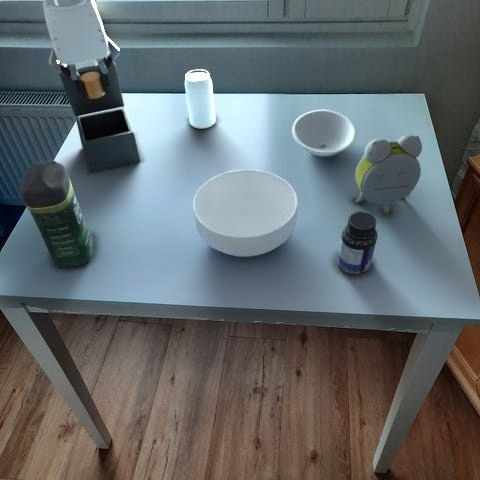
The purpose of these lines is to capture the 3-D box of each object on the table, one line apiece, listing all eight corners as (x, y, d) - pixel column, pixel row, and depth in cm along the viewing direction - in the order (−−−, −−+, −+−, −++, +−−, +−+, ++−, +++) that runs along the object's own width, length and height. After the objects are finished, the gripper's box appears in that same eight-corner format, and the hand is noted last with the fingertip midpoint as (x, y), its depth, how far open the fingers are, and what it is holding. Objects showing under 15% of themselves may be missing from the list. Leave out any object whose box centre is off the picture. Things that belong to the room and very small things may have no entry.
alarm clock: (402, 192, 100) (421, 126, 88) (414, 213, 96) (435, 147, 84) (349, 199, 99) (360, 134, 87) (359, 220, 95) (372, 155, 83)
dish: (358, 171, 105) (361, 151, 101) (293, 173, 105) (294, 153, 101) (348, 127, 115) (350, 108, 111) (289, 129, 116) (290, 110, 112)
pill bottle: (358, 249, 90) (369, 204, 82) (376, 271, 87) (388, 225, 78) (330, 259, 89) (337, 214, 80) (346, 281, 86) (356, 236, 77)
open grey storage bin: (141, 162, 111) (133, 132, 104) (92, 174, 109) (81, 143, 102) (132, 137, 117) (124, 106, 111) (85, 147, 115) (75, 117, 109)
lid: (115, 65, 99) (109, 45, 100) (59, 75, 97) (54, 55, 98) (124, 106, 111) (119, 88, 112) (75, 116, 109) (70, 98, 110)
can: (215, 115, 122) (210, 67, 112) (215, 129, 118) (211, 81, 108) (190, 117, 122) (183, 69, 112) (190, 131, 118) (183, 83, 108)
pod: (87, 100, 97) (81, 82, 94) (84, 91, 99) (79, 74, 97) (106, 96, 98) (101, 78, 95) (103, 87, 100) (98, 70, 97)
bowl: (221, 194, 102) (218, 161, 95) (308, 215, 97) (311, 180, 90) (180, 255, 91) (174, 222, 85) (275, 282, 86) (276, 249, 80)
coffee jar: (94, 267, 91) (60, 187, 76) (52, 272, 90) (10, 193, 75) (96, 233, 96) (65, 153, 82) (57, 238, 96) (19, 158, 81)
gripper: (108, -23, 87) (131, 77, 102) (16, -7, 85) (53, 93, 99) (114, -9, 83) (137, 93, 98) (18, 8, 80) (56, 110, 95)
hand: (95, 92), depth 98 cm, fingers closed on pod, 4 cm apart
